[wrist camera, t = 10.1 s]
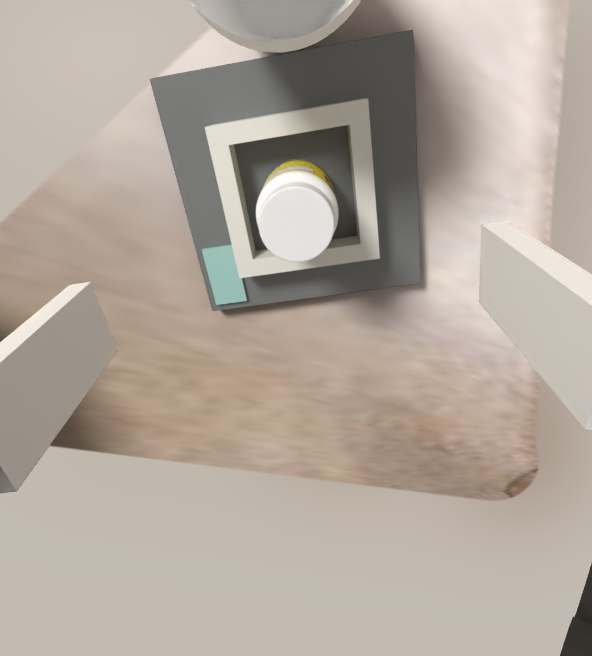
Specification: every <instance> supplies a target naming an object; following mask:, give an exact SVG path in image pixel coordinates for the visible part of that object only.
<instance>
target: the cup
mask: <svg viewBox="0 0 592 656" xmlns="http://www.w3.org/2000/svg"><path fill="white" fill-rule="evenodd" d="M189 1H190V3H191V4H192V5H193V7H194V8H195V10H196V11H197V12H198V13H199V14H200V15H201V17H202V18H203V19H204V20H206V22H207V23H208V24H209V25H210V26H211V27H213V28H214V29H215V30H216V31H218V32H219V33H220V34H221V35H223V36H225V37H226V38H228V39H229V40H231V41H233V42H235V43H237V44H239V45H241V46H244V47H247V48H250V49H253V50H258V51H263V52H278V53H280V52H290V51H295V50H299V49H302V48H305V47H308V46H310V45H313V44H315V43H317V42H319V41H320V40H322V39H324V38H325V37H327V36H328V35H330V34H331V33H332V32H334V31H335V30H336V29H337V28H338V27H339V26H341V25H342V24H343V23H344V22H345V21H346V20H347V19H348V17H349V16H350V15H351V14H352V13H353V12H354V10H355V9H356V8H357V6H358V5H359V4H360V2H361V0H189Z"/></svg>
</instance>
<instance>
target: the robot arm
mask: <svg viewBox="0 0 592 656" xmlns="http://www.w3.org/2000/svg"><path fill="white" fill-rule="evenodd" d="M479 303H480V304H481V305H482V307H483V308H484V309H485V310H486V311H487V313H488V314H489V315H490V316H491V317H492V319H493V320H494V321H495V322H496V323H497V324H498V326H499V327H500V328H501V329H502V330H503V332H504V333H505V334H506V335H507V336H508V338H509V339H510V340H511V341H512V342H513V344H514V345H515V346H516V347H517V348H518V350H519V351H520V352H521V353H522V354H523V356H524V357H525V358H526V359H527V360H528V362H529V363H530V364H531V365H532V366H533V367H534V369H535V370H536V371H537V372H538V373H539V375H540V376H541V377H542V378H543V379H544V381H545V382H546V383H547V384H548V385H549V387H550V388H551V389H552V390H553V391H554V393H555V394H556V395H557V396H558V397H559V399H560V400H561V401H562V402H563V403H564V404H565V405H566V407H567V408H568V409H569V410H570V412H571V413H572V414H573V415H574V416H575V417H576V419H577V420H578V421H579V422H580V424H581V425H582V426H583V427H584V428H585V430H592V274H590V273H589V272H587V271H586V270H584V269H582V268H581V267H579V266H578V265H576V264H574V263H573V262H571V261H570V260H568V259H567V258H565V257H563V256H562V255H560V254H558V253H557V252H555V251H554V250H552V249H551V248H549V247H547V246H546V245H544V244H543V243H541V242H540V241H538V240H536V239H535V238H533V237H532V236H530V235H528V234H527V233H525V232H524V231H522V230H521V229H519V228H517V227H516V226H514V225H513V224H511V223H509V222H508V221H500V222H494V223H487V224H482V230H481V258H480V286H479ZM117 351H118V349H117V347H116V344H115V342H114V339H113V336H112V334H111V331H110V329H109V326H108V324H107V321H106V319H105V316H104V314H103V311H102V309H101V306H100V304H99V301H98V299H97V296H96V294H95V291H94V289H93V286H92V284H91V282H87V283H80V284H73V285H69V286H68V287H67V288H66V289H64V290H63V291H62V292H61V293H59V294H58V295H57V296H56V297H55V298H53V299H52V300H51V301H50V302H49V303H47V304H46V305H45V306H44V307H42V308H41V309H40V310H39V311H38V312H36V313H35V314H34V315H33V316H32V317H30V318H29V319H28V320H27V321H26V322H24V323H23V324H22V325H21V326H19V327H18V328H17V329H16V330H15V331H13V332H12V333H11V334H10V335H9V336H7V337H6V338H5V339H4V340H2V341H1V342H0V493H5V492H14V491H17V490H18V489H19V487H20V486H21V484H22V483H23V482H24V480H25V479H26V477H27V476H28V475H29V473H30V472H31V471H32V469H33V468H34V466H35V465H36V464H37V462H38V461H39V459H40V458H41V457H42V455H43V454H44V453H45V451H46V449H47V448H48V447H49V446H50V444H51V443H52V441H53V440H54V439H55V437H56V436H57V434H58V433H59V432H60V430H61V429H62V427H63V426H64V425H65V423H66V422H67V421H68V419H69V418H70V416H71V415H72V414H73V412H74V411H75V409H76V408H77V407H78V405H79V404H80V402H81V401H82V400H83V398H84V397H85V395H86V394H87V393H88V391H89V390H90V389H91V387H92V386H93V384H94V383H95V382H96V380H97V379H98V377H99V376H100V375H101V373H102V372H103V370H104V369H105V368H106V366H107V365H108V363H109V362H110V361H111V359H112V358H113V357H114V355H115V354H116V352H117ZM560 656H592V565H591V567H590V571H589V574H588V577H587V580H586V584H585V587H584V590H583V593H582V596H581V600H580V603H579V606H578V609H577V612H576V615H575V617H573V619H572V621H571V624H570V626H569V629H568V632H567V635H566V638H565V642H564V644H563V648H562V651H561V654H560Z"/></svg>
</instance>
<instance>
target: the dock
mask: <svg viewBox="0 0 592 656" xmlns="http://www.w3.org/2000/svg"><path fill="white" fill-rule="evenodd" d="M150 82H151V86H152V89H153V93H154V97H155V101H156V104H157V108H158V112H159V115H160V119H161V123H162V126H163V130H164V134H165V137H166V141H167V145H168V149H169V152H170V156H171V160H172V163H173V167H174V171H175V174H176V178H177V182H178V185H179V189H180V193H181V197H182V200H183V204H184V208H185V211H186V215H187V219H188V222H189V226H190V230H191V233H192V237H193V241H194V245H195V248H196V252H197V256H198V259H199V263H200V267H201V270H202V274H203V278H204V281H205V285H206V289H207V293H208V296H209V300H210V304H211V307H212V311H218V310H225V309H232V308H240V307H247V306H255V305H262V304H269V303H277V302H284V301H292V300H299V299H306V298H314V297H321V296H329V295H336V294H343V293H351V292H358V291H365V290H373V289H380V288H388V287H395V286H402V285H410V284H417V283H421V280H420V246H419V212H418V179H417V145H416V111H415V77H414V44H413V30H409V31H404V32H398V33H393V34H388V35H382V36H377V37H371V38H366V39H361V40H355V41H350V42H345V43H339V44H334V45H329V46H323V47H318V48H313V49H307V50H302V51H296V52H291V53H286V54H280V55H275V56H270V57H264V58H259V59H254V60H248V61H243V62H238V63H232V64H227V65H221V66H216V67H211V68H205V69H200V70H195V71H189V72H184V73H179V74H173V75H168V76H163V77H157V78H152V79H150ZM292 159H304V160H308V161H311V162H313V163H315V164H317V165H318V166H320V167H321V168H322V169H323V170H324V171H325V173H326V174H327V176H328V177H329V179H330V182H331V184H332V187H333V190H334V194H335V197H336V200H337V204H338V212H339V214H338V223H337V227H336V230H335V232H334V234H333V237H332V239H331V242H330V243H329V245H328V247H327V248H326V249H325V250H324V251H323V252H322V253H321V254H320V255H318V256H317V257H315V258H313V259H311V260H308V261H304V262H290V261H285V260H283V259H280V258H278V257H277V256H275V255H274V254H272V253H271V252H270V251H269V250H268V249H267V247H266V246H265V245H264V243H263V241H262V239H261V236H260V233H259V228H258V225H257V221H256V204H257V200H258V197H259V195H260V193H261V191H262V189H263V186H264V184H265V182H266V180H267V178H268V176H269V175H270V173H271V172H272V171H273V170H274V169H275V168H276V167H277V166H278V165H280V164H281V163H283V162H286V161H288V160H292Z"/></svg>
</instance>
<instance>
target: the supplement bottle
mask: <svg viewBox="0 0 592 656" xmlns="http://www.w3.org/2000/svg"><path fill="white" fill-rule="evenodd" d="M338 214H339V212H338V204H337V200H336V197H335V194H334V190H333V187H332V184H331V182H330V179H329V177H328V176H327V174H326V173H325V171H324V170H323V169H322V168H321V167H320V166H318V165H317V164H315V163H313V162H311V161H308V160H304V159H292V160H288V161H286V162H283V163H281V164H280V165H278V166H277V167H276V168H275V169H274V170H273V171H272V172H271V173H270V175H269V176H268V178H267V180H266V182H265V184H264V186H263V189H262V191H261V193H260V195H259V197H258V200H257V204H256V221H257V225H258V228H259V233H260V236H261V239H262V241H263V243H264V245H265V246H266V247H267V249H268V250H269V251H270V252H271V253H272V254H274V255H275V256H277V257H278V258H280V259H283V260H285V261H290V262H304V261H308V260H311V259H313V258H315V257H317V256H318V255H320V254H321V253H322V252H323V251H324V250H325V249H326V248H327V247H328V245H329V243H330V242H331V239H332V237H333V234H334V232H335V230H336V227H337V223H338Z"/></svg>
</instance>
